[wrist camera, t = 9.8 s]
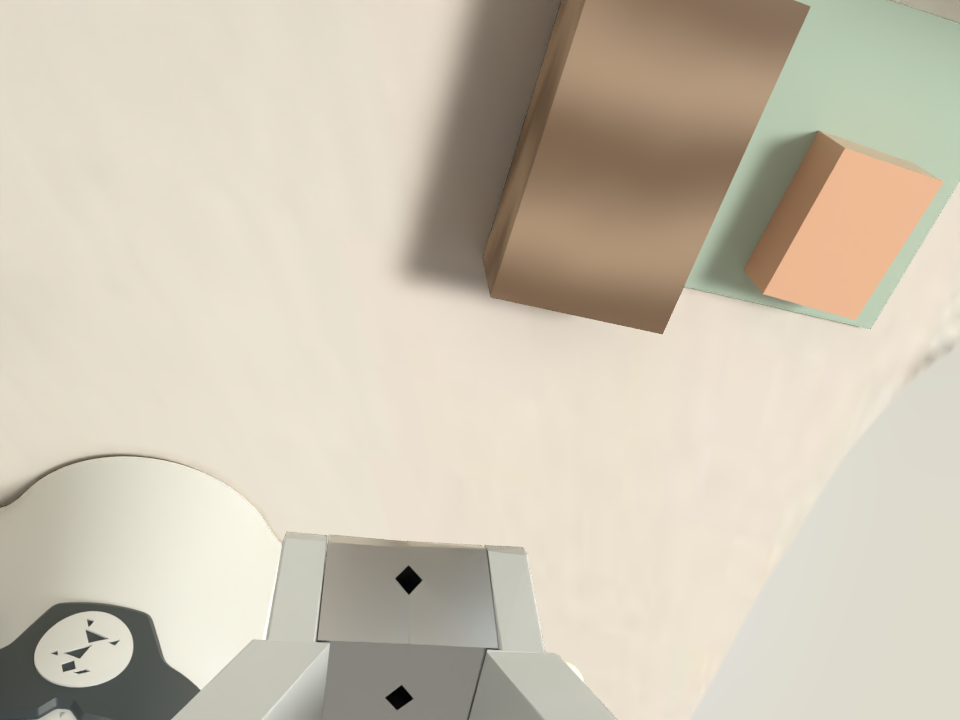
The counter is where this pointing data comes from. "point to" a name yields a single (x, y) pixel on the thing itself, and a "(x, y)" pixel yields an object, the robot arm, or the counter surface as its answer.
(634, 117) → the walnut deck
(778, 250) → the terracotta tile
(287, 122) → the counter surface
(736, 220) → the sage mat
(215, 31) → the counter surface
